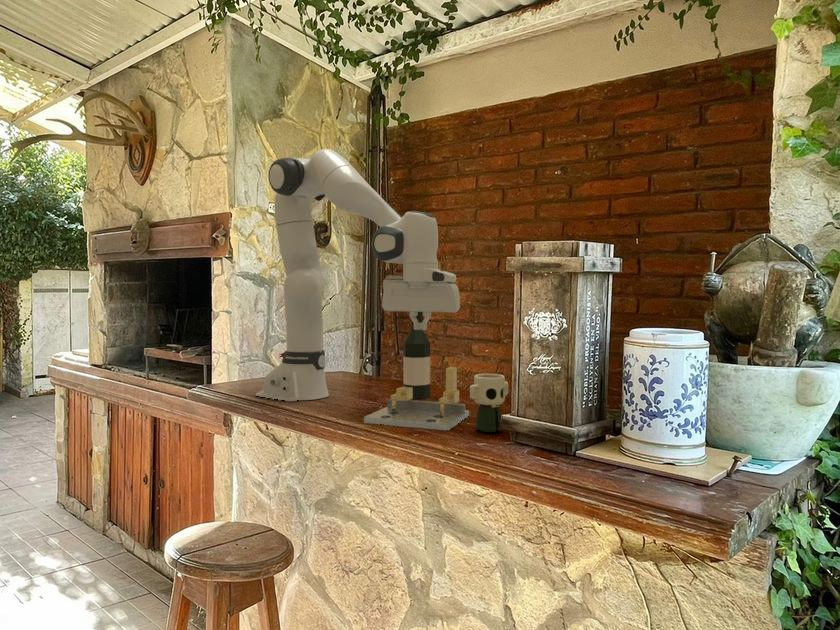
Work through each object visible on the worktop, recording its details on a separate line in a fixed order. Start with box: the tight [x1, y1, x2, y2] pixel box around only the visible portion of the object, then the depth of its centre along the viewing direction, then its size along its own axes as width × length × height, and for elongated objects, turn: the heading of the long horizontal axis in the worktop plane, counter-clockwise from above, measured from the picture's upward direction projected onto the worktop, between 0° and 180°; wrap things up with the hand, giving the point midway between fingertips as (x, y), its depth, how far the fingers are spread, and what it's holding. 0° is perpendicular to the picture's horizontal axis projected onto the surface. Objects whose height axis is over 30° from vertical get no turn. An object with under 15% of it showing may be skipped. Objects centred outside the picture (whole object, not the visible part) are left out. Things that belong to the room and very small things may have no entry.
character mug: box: [469, 373, 509, 433], centre depth 140 cm, size 11×7×13 cm, turn 121°
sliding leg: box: [438, 366, 460, 415], centre depth 152 cm, size 3×10×11 cm, turn 159°
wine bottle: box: [402, 312, 431, 400], centre depth 184 cm, size 8×8×30 cm
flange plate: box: [363, 386, 470, 431], centre depth 153 cm, size 22×17×7 cm
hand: (420, 329), depth 153 cm, fingers closed
